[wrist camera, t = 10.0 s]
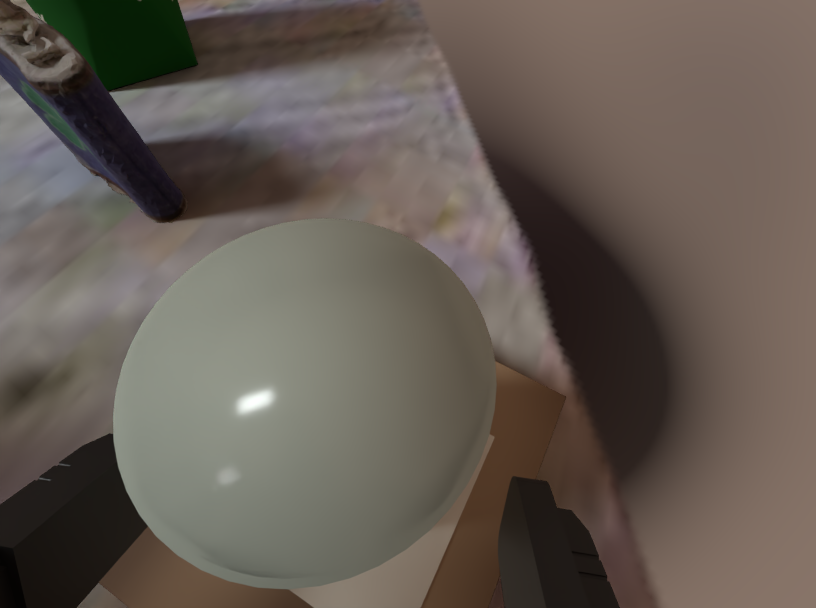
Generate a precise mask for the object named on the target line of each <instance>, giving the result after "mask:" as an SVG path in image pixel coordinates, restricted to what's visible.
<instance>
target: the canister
mask: <svg viewBox="0 0 816 608" xmlns="http://www.w3.org/2000/svg"><path fill="white" fill-rule="evenodd" d="M496 387H497V383H496V365H495V358H494V353H493V347H492V342H491V338H490V335H489V332H488V329H487V326H486V323H485V320H484V318H483V316H482V314H481V312H480V310H479V308H478V306H477V304H476V302H475V300H474V298H473V297H472V295H471V294H470V292H469V291H468V289H467V288H466V287H465V285H464V284H463V282H462V281H461V280H460V279H459V278H458V277H457V275H456V274H455V273H454V272H453V271H452V270H451V269H450V268H449V267H448V266H447V265H446V264H445V263H444V262H443V261H442V260H440V259H439V258H438V257H437V256H436V255H435V254H433V253H432V252H430V251H429V250H427V249H426V248H425V247H423V246H422V245H420V244H419V243H417V242H415V241H413V240H411V239H409V238H407V237H405V236H404V235H402V234H399V233H397V232H394V231H391V230H389V229H386V228H384V227H380V226H376V225H373V224H369V223H365V222H359V221H352V220H346V219H327V218H324V219H305V220H299V221H292V222H286V223H281V224H278V225H274V226H270V227H266V228H263V229H260V230H257V231H255V232H252V233H249V234H246V235H244V236H242V237H240V238H238V239H236V240H234V241H231V242H229V243H227V244H225V245H224V246H222V247H220V248H219V249H217V250H215V251H214V252H212V253H210V254H209V255H207V256H206V257H204V258H203V259H202V260H200V261H199V262H198V263H196V264H195V265H194V266H192V267H191V268H190V269H189V270H187V271H186V272H185V273H184V274H183V275H182V276H181V277H180V278H179V279H178V280H177V281H176V282H175V283H173V284H172V285H171V286H170V288H169V289H168V290H167V291H166V292H165V293H164V295H163V296H162V297H161V298H160V299H159V300H158V301H157V303H156V304H155V305H154V307H153V308H152V310H151V311H150V313H149V314H148V315H147V317H146V318H145V320H144V321H143V323H142V325H141V326H140V328H139V330H138V332H137V334H136V336H135V337H134V339H133V341H132V343H131V345H130V348H129V350H128V353H127V355H126V358H125V360H124V363H123V365H122V369H121V373H120V377H119V381H118V385H117V388H116V395H115V403H114V411H113V437H114V446H115V452H116V458H117V463H118V468H119V471H120V474H121V477H122V479H123V482H124V485H125V488H126V491H127V493H128V495H129V497H130V499H131V500H132V502H133V504H134V506H135V508H136V510H137V512H138V513H139V515H140V516H141V518H142V519H143V520H144V522H145V523H146V524H147V525H148V527H149V528H150V529H151V530H152V532H153V533H154V534H155V536H156V537H157V538H159V539H160V540H161V541H162V542H163V543H164V544H165V545H166V546H167V547H169V548H170V549H171V550H172V551H173V552H174V553H175V554H176V555H178V556H179V557H181V558H183V559H184V560H186V561H187V562H189V563H191V564H192V565H194V566H195V567H197V568H199V569H200V570H202V571H205V572H207V573H210V574H212V575H214V576H217V577H219V578H222V579H224V580H227V581H230V582H235V583H239V584H244V585H248V586H253V587H257V588H273V589H297V588H306V587H316V586H322V585H326V584H330V583H334V582H338V581H341V580H345V579H349V578H352V577H354V576H357V575H359V574H361V573H364V572H366V571H368V570H371V569H373V568H375V567H378V566H380V565H382V564H383V563H385V562H387V561H388V560H390V559H392V558H393V557H395V556H397V555H398V554H400V553H401V552H403V551H405V550H406V549H408V548H409V547H410V546H411V545H413V544H414V543H415V542H416V541H417V540H419V539H420V538H421V537H422V536H424V535H425V534H426V533H427V532H429V531H430V530H431V529H432V528H433V527H434V526H435V524H436V523H437V522H438V521H439V520H440V519H441V518H442V517H443V516H444V515H445V514H446V513H447V512H448V511H449V509H450V508H451V507H452V506H453V504H454V503H455V501H456V500H457V499H458V497H459V496H460V494H461V493H462V491H463V490H464V489H465V487H466V486H467V484H468V482H469V480H470V479H471V477H472V475H473V473H474V471H475V469H476V467H477V465H478V463H479V461H480V459H481V456H482V454H483V451H484V448H485V445H486V443H487V440H488V437H489V434H490V429H491V425H492V420H493V416H494V411H495V400H496Z"/></svg>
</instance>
